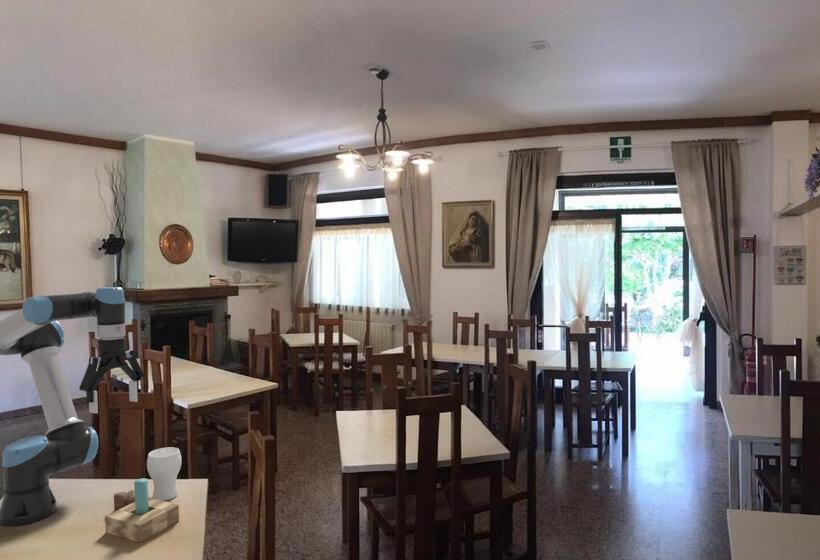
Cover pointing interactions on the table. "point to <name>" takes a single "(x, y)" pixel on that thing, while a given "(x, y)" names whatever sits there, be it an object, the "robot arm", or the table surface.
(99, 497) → the table surface
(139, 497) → the pin long
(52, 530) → the table surface
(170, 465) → the cup
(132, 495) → the pin medium
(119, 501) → the pin short
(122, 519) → the hole block
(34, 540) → the table surface
